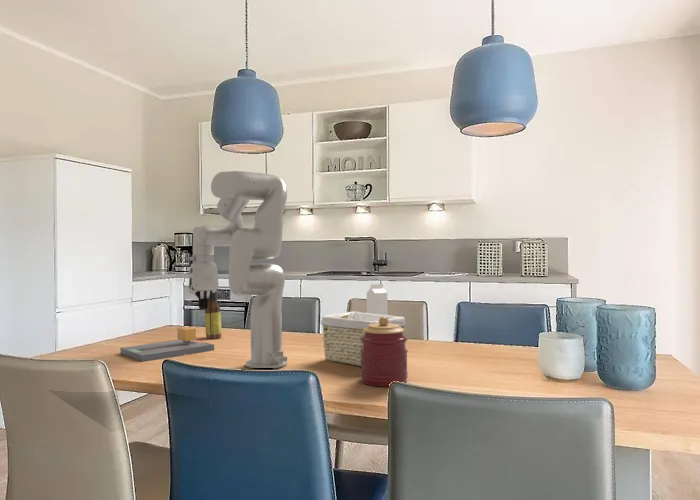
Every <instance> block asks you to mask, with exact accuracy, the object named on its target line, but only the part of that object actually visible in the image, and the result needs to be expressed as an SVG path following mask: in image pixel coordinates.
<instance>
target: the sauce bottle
mask: <svg viewBox="0 0 700 500" xmlns="http://www.w3.org/2000/svg"><path fill="white" fill-rule="evenodd" d="M217 294H218V291H217V292H215V293H212V294H211V295H210V297H209V298H208V307H207V309H204V322H205V323H204V324H205V326H204V327H205V336H206V339H208V340H209V339H210V340H212V339H213V340H214V339H219V338H222V316H221V315H222V313H221V306H220V304H219V302H218V298H217Z"/></svg>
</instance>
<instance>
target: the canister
mask: <svg viewBox="0 0 700 500" xmlns="http://www.w3.org/2000/svg"><path fill="white" fill-rule="evenodd" d="M363 331H364V332H365V333H364V335H363V336H361V337H360V340H361V341H362V348H361V349H360V352H361V366H360V372H359V375H360V380H361V381H360V382H362V383H363V384H366V385H369V386H373V387H387V388H388V387H390V386H389V384H390V383H391V382H393V381H399V382H406V383H407V381H408V374H409V372H408V352H409V351H408V349H407V345H406V344H407V343H406V342H407V341H408V337H407V336H406V335H405V334H403V332H404V333H405V328H404V329H403V328H402V327H400V326H399V325H398V324H392V323H389V321H388V318H387V317H381V318H380V319H379V323H374V324H369V325H368V326H367V327H366V328H364V329H363Z"/></svg>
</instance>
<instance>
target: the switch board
mask: <svg viewBox="0 0 700 500" xmlns="http://www.w3.org/2000/svg"><path fill="white" fill-rule="evenodd" d="M119 349H120V350H119V351H120V352H119V353H120V355H123V356H126V357H128V358H132V359H134V360H136V361H138V362H139V361H140V362H142V363H143V362H149V361H154V360H161V359H167V358H173V357H179V355H180V356H185V355H184V354H187V355H190V354H191V355H192V353H193V354H197V353H198V352H199V353H205V352H209V351H211V350H212V351H215V344H214V343H210V342H206V341H202V340H199V339H196V340H190V342H189V343H183V340H179V339H176V340H174V339H173V340H169V341H160V342H154V343H153V342H152V343H146V344H140V345H139V344H138V345H132V346H125V347H123V346H122V347H120V348H119Z"/></svg>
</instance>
